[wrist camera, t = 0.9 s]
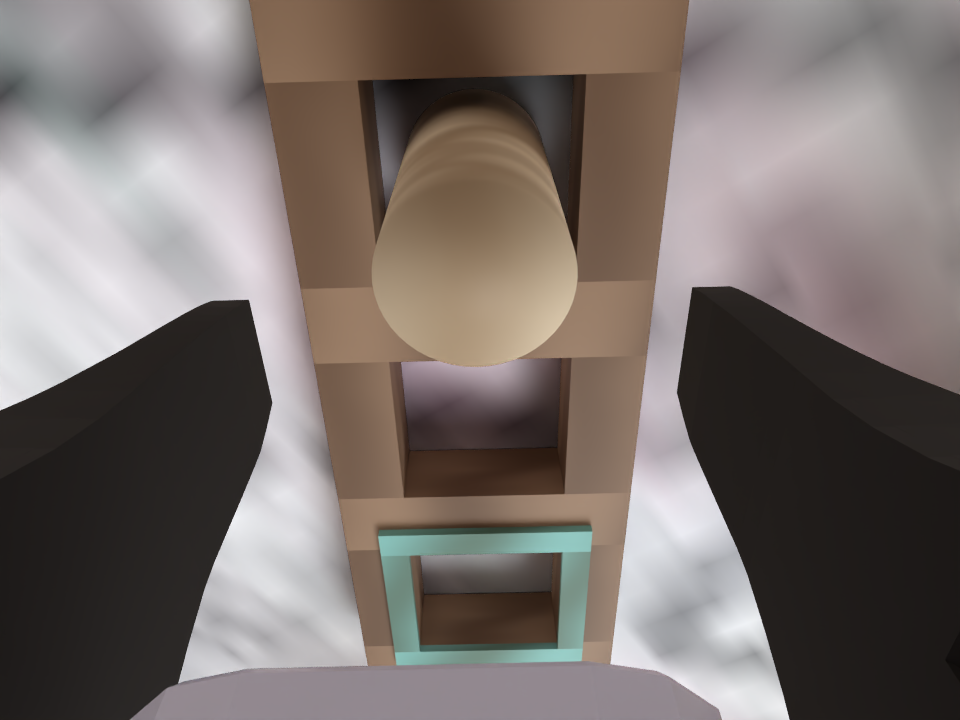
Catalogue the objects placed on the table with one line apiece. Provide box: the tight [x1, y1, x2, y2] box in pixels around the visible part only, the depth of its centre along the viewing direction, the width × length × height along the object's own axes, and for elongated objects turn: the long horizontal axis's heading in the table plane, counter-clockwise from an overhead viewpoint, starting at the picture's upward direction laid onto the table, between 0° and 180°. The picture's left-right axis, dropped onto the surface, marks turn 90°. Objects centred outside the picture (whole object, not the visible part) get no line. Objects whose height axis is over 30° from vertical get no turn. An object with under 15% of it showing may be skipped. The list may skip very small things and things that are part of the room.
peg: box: [372, 89, 578, 367], centre depth 17 cm, size 4×4×8 cm
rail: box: [249, 0, 689, 666], centre depth 23 cm, size 10×26×3 cm, turn 1°
